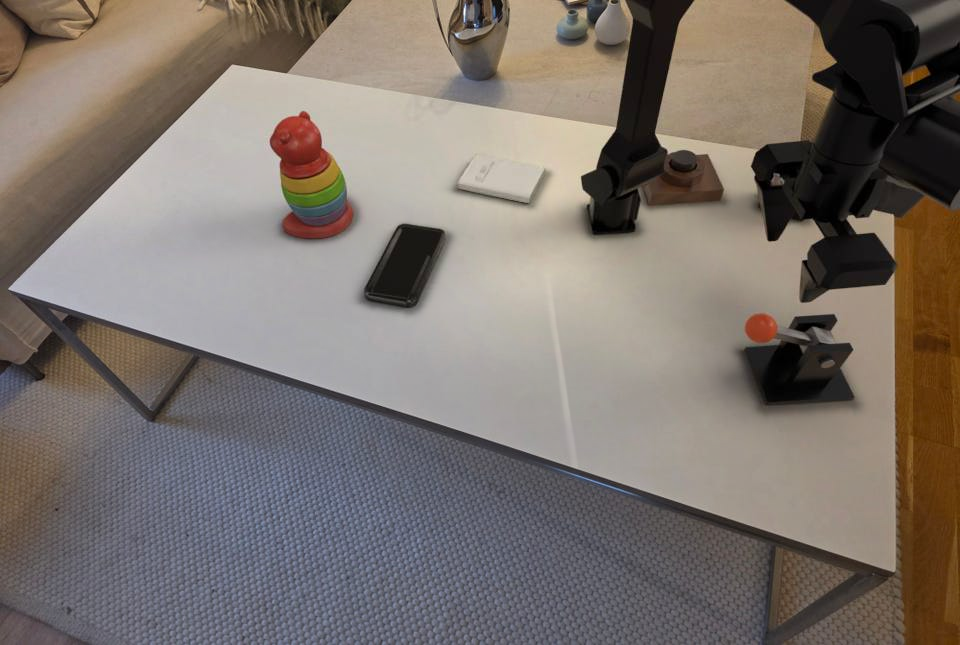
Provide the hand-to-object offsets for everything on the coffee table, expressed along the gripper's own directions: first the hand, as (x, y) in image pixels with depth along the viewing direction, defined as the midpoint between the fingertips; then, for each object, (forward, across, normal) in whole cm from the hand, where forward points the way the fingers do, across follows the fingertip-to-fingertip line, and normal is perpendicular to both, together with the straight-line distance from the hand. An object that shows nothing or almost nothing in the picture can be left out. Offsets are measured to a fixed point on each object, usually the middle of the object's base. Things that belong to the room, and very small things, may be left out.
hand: (787, 269), depth 64 cm
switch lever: (+6, -5, +1) cm, 8 cm away
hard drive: (+13, +36, +29) cm, 48 cm away
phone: (+13, +19, +44) cm, 50 cm away
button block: (+13, +32, +1) cm, 35 cm away
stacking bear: (+13, +31, +58) cm, 67 cm away
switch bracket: (+14, -5, -3) cm, 15 cm away
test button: (+10, +32, +1) cm, 33 cm away
